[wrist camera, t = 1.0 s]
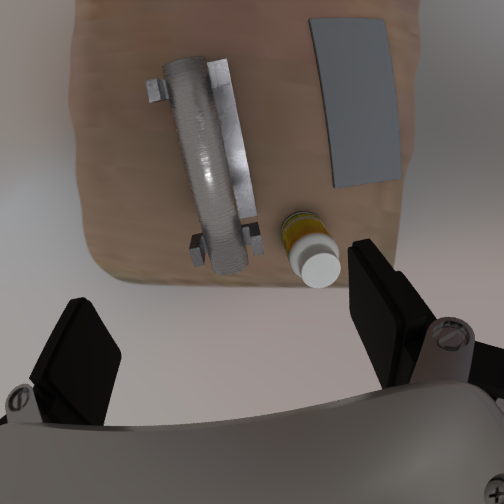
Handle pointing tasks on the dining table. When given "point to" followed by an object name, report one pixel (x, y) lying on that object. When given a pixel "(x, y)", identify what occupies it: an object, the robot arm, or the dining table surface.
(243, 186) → the hook stand
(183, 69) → the grey metallic bar
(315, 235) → the supplement bottle
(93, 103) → the dining table surface
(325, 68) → the slate mat
